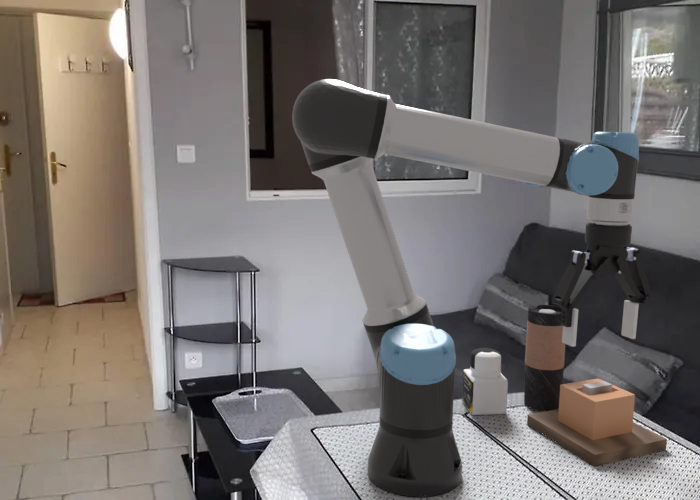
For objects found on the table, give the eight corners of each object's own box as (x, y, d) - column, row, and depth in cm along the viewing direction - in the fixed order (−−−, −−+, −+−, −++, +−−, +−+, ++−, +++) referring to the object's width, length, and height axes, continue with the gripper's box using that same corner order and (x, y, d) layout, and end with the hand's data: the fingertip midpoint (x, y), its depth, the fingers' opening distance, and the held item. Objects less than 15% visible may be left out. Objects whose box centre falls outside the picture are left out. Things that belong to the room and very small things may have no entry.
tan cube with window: (592, 440, 122) (595, 402, 121) (558, 420, 130) (560, 384, 129) (631, 431, 126) (634, 394, 124) (595, 413, 134) (598, 378, 132)
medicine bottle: (461, 401, 144) (463, 345, 142) (495, 400, 145) (498, 344, 143) (471, 415, 137) (473, 356, 135) (506, 414, 138) (509, 355, 136)
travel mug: (563, 413, 138) (569, 315, 135) (523, 410, 140) (528, 312, 137) (559, 399, 146) (565, 305, 143) (522, 396, 147) (526, 303, 144)
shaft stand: (594, 466, 117) (598, 409, 115) (527, 424, 133) (529, 374, 131) (665, 449, 123) (670, 395, 121) (593, 412, 139) (596, 363, 138)
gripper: (565, 227, 113) (556, 354, 117) (679, 222, 123) (668, 339, 126) (536, 221, 120) (528, 341, 124) (646, 217, 130) (636, 328, 133)
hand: (599, 340), depth 125 cm, fingers open, 13 cm apart
